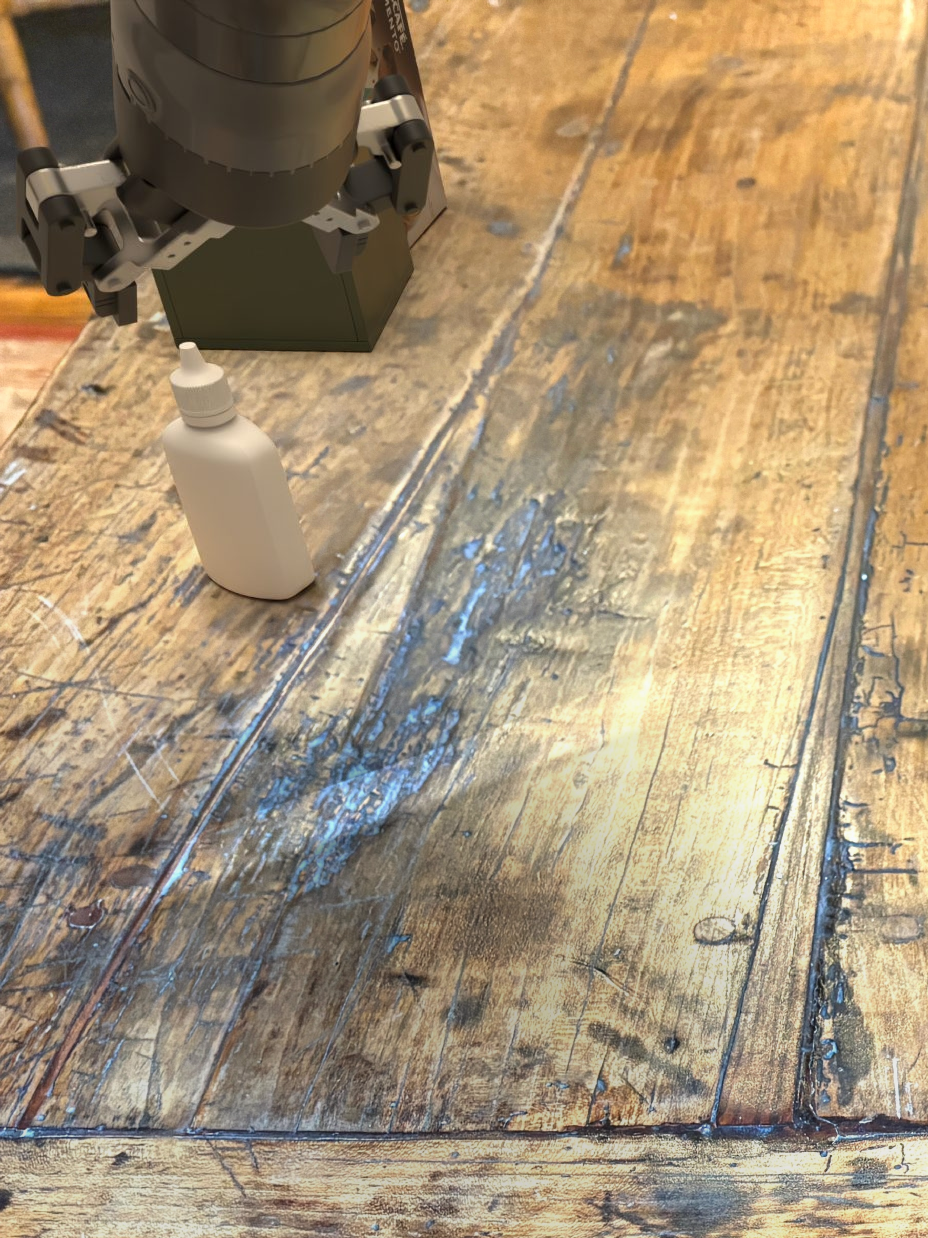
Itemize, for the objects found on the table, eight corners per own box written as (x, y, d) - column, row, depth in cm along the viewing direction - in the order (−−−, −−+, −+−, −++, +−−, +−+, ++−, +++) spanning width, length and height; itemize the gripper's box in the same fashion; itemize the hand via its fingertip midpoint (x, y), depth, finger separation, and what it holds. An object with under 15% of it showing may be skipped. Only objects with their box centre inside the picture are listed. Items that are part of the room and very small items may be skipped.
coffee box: (356, 198, 130) (290, -77, 118) (451, 206, 129) (393, -70, 118) (298, 257, 123) (222, -28, 112) (397, 265, 123) (331, -20, 111)
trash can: (176, 348, 115) (115, 159, 107) (231, 265, 122) (178, 83, 115) (371, 352, 115) (324, 163, 107) (414, 268, 123) (373, 87, 115)
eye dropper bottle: (284, 541, 101) (214, 310, 92) (325, 591, 97) (257, 357, 89) (198, 566, 99) (118, 333, 90) (237, 618, 96) (158, 382, 87)
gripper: (402, -97, 66) (357, 146, 81) (-47, -24, 60) (-8, 224, 75) (499, 120, 67) (437, 322, 82) (67, 214, 61) (83, 413, 76)
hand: (225, 275), depth 78 cm, fingers open, 8 cm apart
